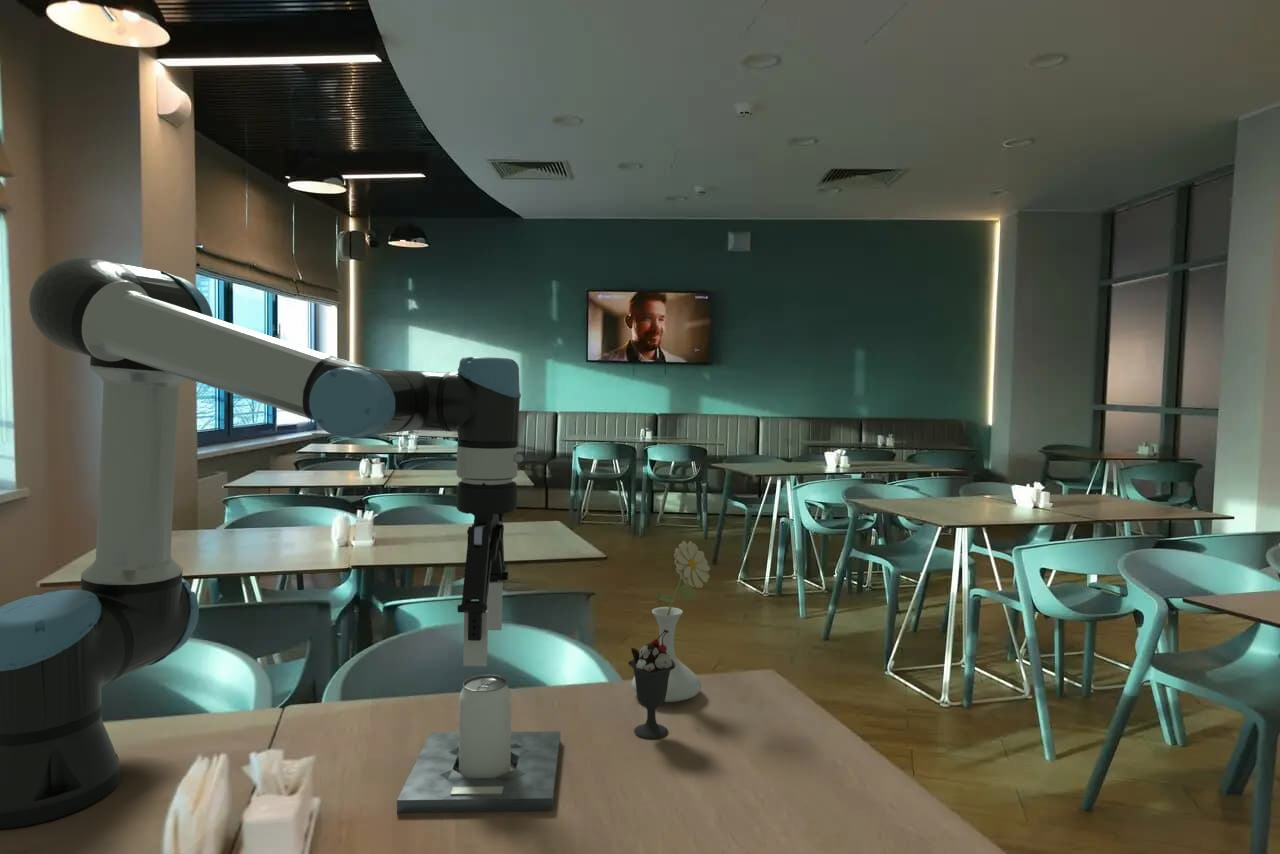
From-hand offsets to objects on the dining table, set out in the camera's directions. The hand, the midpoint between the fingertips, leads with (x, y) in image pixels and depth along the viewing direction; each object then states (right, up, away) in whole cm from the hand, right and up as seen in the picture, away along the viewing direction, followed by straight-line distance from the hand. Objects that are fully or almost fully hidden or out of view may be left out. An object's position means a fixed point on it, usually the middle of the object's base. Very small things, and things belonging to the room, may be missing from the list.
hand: (483, 646), depth 100 cm
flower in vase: (+25, -16, +28) cm, 41 cm away
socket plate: (0, -17, +1) cm, 17 cm away
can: (0, -17, +1) cm, 17 cm away
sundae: (+22, -16, +14) cm, 30 cm away
